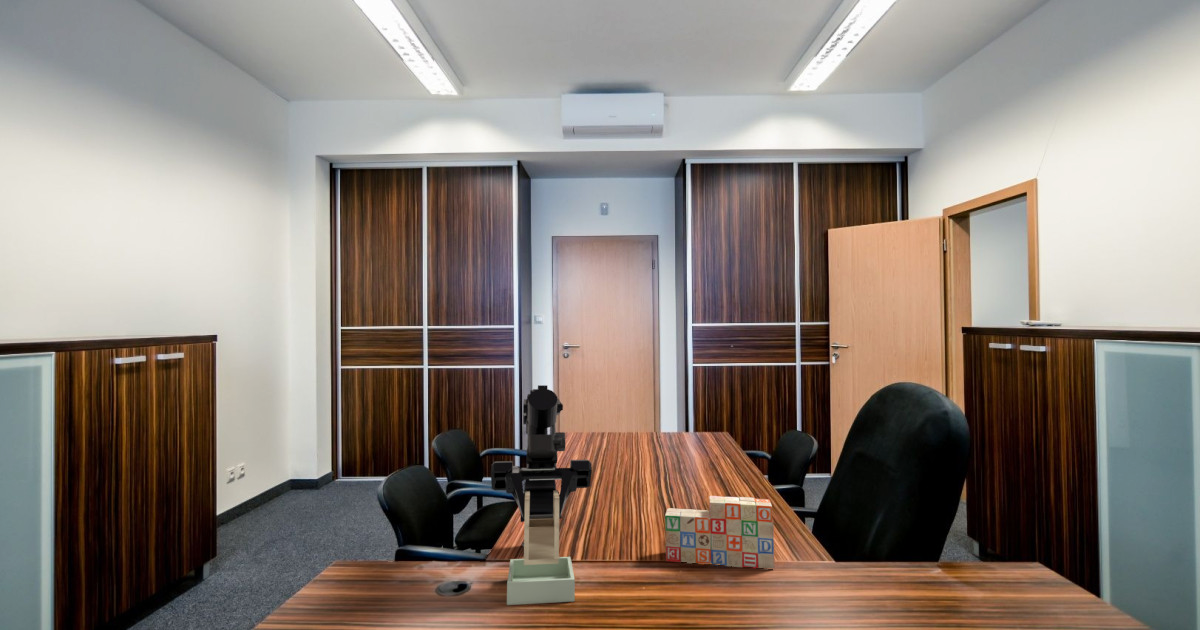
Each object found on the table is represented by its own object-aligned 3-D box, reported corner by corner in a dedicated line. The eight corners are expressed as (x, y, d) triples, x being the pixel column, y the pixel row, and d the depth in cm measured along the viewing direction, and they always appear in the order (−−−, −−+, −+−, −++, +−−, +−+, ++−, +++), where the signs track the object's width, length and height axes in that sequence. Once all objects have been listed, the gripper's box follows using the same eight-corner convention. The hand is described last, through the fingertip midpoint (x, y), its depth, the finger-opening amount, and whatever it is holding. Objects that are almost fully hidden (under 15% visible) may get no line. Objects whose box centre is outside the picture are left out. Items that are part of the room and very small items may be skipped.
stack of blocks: (665, 562, 105) (664, 499, 107) (667, 552, 111) (666, 493, 113) (775, 570, 101) (772, 505, 102) (772, 559, 107) (769, 497, 108)
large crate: (510, 579, 96) (510, 559, 97) (570, 576, 98) (570, 556, 98) (506, 605, 85) (507, 582, 86) (574, 601, 87) (574, 579, 87)
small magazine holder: (524, 553, 95) (525, 491, 96) (557, 551, 95) (557, 490, 97) (523, 565, 89) (524, 498, 90) (558, 563, 90) (559, 497, 91)
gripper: (492, 418, 98) (485, 491, 86) (590, 416, 100) (597, 488, 88) (494, 454, 105) (488, 527, 92) (586, 452, 107) (592, 523, 95)
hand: (541, 515), depth 92 cm, fingers closed on small magazine holder, 6 cm apart
